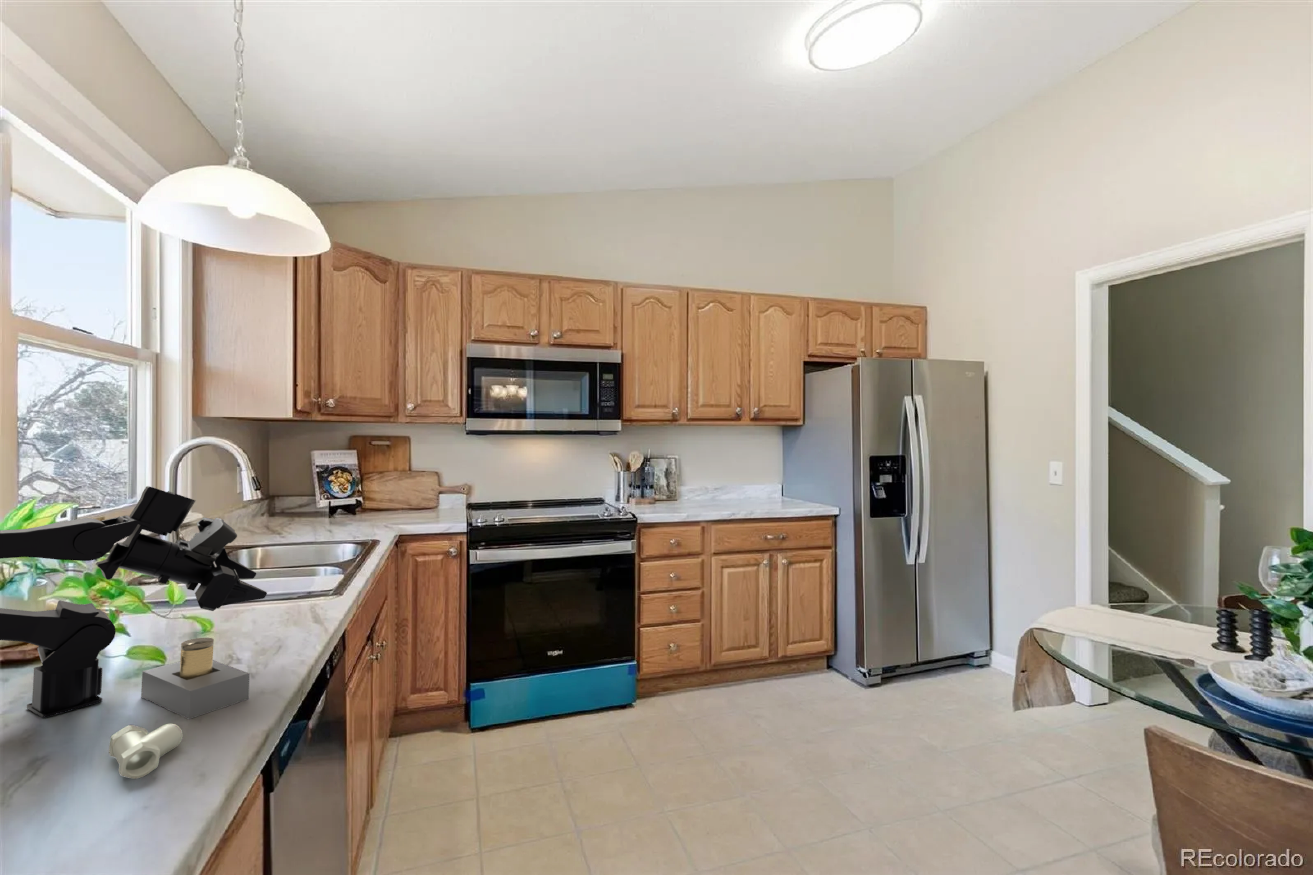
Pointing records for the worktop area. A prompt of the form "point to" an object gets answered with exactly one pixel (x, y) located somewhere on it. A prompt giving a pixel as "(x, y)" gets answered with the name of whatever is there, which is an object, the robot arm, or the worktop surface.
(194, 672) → the brass plug
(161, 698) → the block
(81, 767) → the worktop surface
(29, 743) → the worktop surface
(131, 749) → the pipe fitting
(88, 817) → the worktop surface
